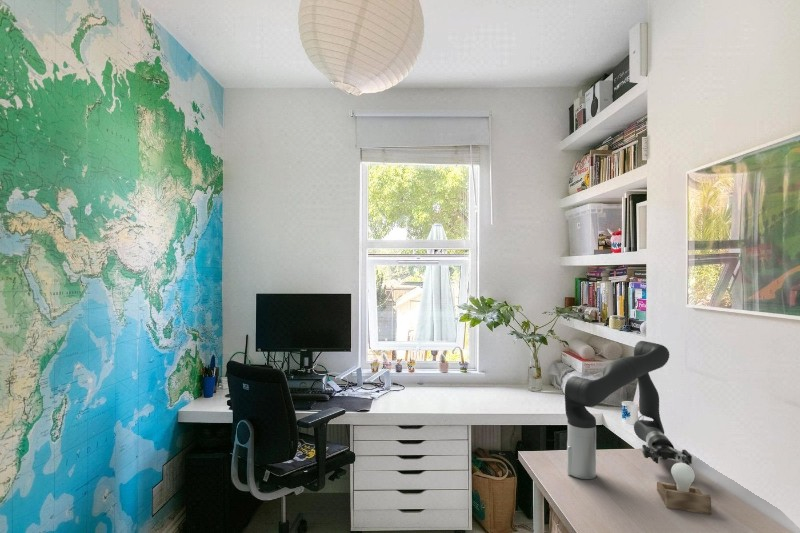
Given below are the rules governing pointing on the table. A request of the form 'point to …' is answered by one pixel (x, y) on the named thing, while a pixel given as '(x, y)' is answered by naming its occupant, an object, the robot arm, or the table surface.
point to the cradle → (684, 498)
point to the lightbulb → (682, 476)
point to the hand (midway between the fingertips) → (671, 462)
